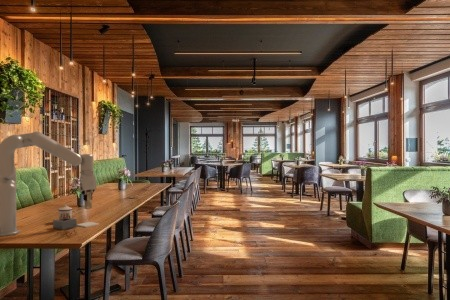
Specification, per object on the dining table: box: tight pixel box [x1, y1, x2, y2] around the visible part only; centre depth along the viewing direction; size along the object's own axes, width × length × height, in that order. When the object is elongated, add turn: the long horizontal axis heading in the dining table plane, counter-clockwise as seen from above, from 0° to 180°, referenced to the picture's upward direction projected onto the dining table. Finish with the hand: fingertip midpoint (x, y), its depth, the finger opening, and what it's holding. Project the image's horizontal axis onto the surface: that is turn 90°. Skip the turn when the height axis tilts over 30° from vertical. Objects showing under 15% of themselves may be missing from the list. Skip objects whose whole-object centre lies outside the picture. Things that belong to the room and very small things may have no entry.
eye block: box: [52, 218, 78, 231], centre depth 231 cm, size 10×10×5 cm
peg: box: [83, 190, 93, 210], centre depth 237 cm, size 5×5×12 cm
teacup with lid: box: [57, 204, 78, 219], centre depth 249 cm, size 12×9×12 cm
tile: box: [77, 221, 100, 228], centre depth 237 cm, size 10×10×1 cm
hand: (87, 199), depth 237 cm, fingers closed on peg, 3 cm apart
